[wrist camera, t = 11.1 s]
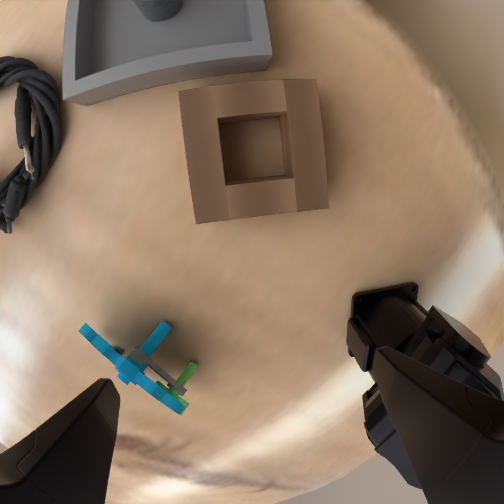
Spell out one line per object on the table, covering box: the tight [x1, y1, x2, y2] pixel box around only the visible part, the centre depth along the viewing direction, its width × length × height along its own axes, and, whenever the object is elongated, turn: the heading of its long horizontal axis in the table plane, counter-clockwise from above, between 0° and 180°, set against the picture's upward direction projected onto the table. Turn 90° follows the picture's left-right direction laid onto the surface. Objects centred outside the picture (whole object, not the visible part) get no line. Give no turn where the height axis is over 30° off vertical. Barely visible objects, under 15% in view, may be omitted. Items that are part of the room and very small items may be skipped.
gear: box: [79, 321, 198, 415], centre depth 21 cm, size 11×6×10 cm
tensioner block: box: [179, 79, 329, 224], centre depth 17 cm, size 8×8×3 cm
